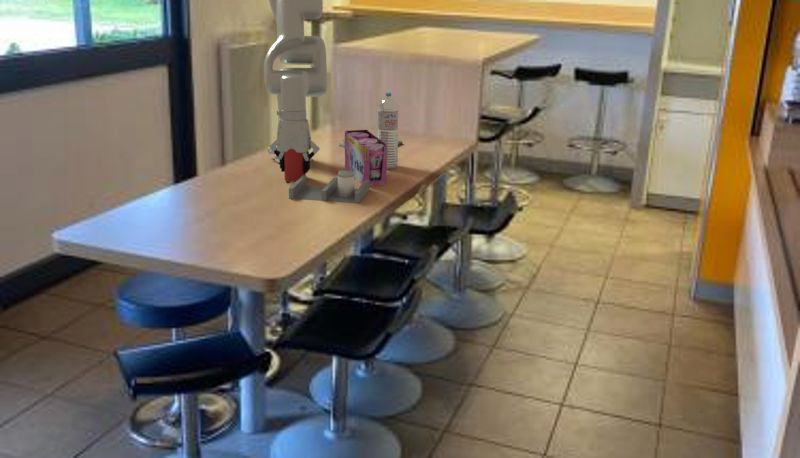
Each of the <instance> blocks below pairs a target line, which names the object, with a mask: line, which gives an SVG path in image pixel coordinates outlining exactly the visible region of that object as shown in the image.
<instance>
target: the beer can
mask: <svg viewBox="0 0 800 458" xmlns="http://www.w3.org/2000/svg"><path fill="white" fill-rule="evenodd" d="M304 161H305V159H304V156H303V153H297V152H296V151H295V150H294V149H292V148H291V149H289V150H288V151H287V152H284V172H283V173H284V181H285V182H286V183H291V182H296V181H297V180H298V179H299V178H301V177H302V176H307V175H306V174H307V173H304V166H303V162H304Z"/></svg>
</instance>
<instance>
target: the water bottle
mask: <svg viewBox="0 0 800 458" xmlns="http://www.w3.org/2000/svg"><path fill="white" fill-rule="evenodd" d="M399 108H400V107H399V104H398V103H397V101H396V100H395V99H394V98H392V93H391V92H385V97H384V98H383V99H382V100H381V101H380V102H379V104H378V105H377V116H378V117H377V137H378V139H380V140H381V141H383V142H384V143H385V144H386V145H387V170H393V169H396V168H397V166H398V163H399V162H398V159H399V158H398V155H399V154H398V153H399V151H398V150H399V148H398V147H399V146H398V141H399Z"/></svg>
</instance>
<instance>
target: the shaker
mask: <svg viewBox="0 0 800 458" xmlns="http://www.w3.org/2000/svg"><path fill="white" fill-rule="evenodd" d="M336 178H337V181H338V196H339V197H345V198H347V197H353V196H354V195H355V189H356V188H355V186H356V185H355V179H356V178H355V175H354V172H353V171H351V170H345V169H342V170H338V172H337V177H336Z"/></svg>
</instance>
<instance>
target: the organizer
mask: <svg viewBox="0 0 800 458" xmlns="http://www.w3.org/2000/svg"><path fill="white" fill-rule="evenodd" d="M307 183H308V181H307V175H306V176H302V177H301V178H299V179H298V180H297V181H294V183H293V184H292V185H291V186H290V187H288V199H295V200H305V201H307V200H308V201H318V202H319V201H320V202H321V201H322V202H333V203H346V204H348V203H349V204H360V203H361V202H362V200H363V199H364V198H365V196H366V195H367V194H368V192H369V191H370V186H369V180H365V181H364V182H363V184H361V185H360V186H359V187H358V188H355V195H354V196H353V197H347V198H345V197H339V196H338V181H337V177H333V178H332V179H331V180H330V181H329V182H328V183H327V184H326V185H325V186H322V185H311V184H310V185H308V184H307Z"/></svg>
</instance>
